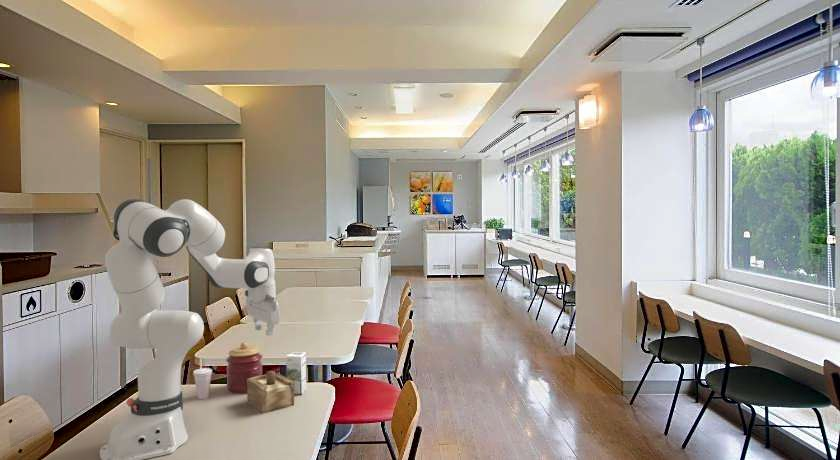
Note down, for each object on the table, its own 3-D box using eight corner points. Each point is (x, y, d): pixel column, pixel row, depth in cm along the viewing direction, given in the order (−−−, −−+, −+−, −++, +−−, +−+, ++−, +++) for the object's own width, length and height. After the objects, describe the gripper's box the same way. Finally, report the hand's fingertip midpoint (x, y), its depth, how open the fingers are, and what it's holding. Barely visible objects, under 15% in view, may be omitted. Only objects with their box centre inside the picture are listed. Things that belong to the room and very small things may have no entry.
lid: (266, 394, 173) (266, 379, 173) (252, 384, 183) (251, 370, 182) (290, 388, 178) (289, 373, 178) (274, 379, 188) (274, 365, 188)
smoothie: (196, 394, 191) (195, 357, 190) (214, 393, 192) (213, 355, 191) (191, 400, 184) (190, 362, 184) (210, 399, 185) (209, 361, 185)
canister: (219, 391, 193) (218, 345, 193) (243, 380, 205) (242, 336, 204) (246, 396, 188) (245, 348, 188) (270, 384, 200) (269, 339, 199)
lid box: (263, 413, 172) (263, 389, 172) (247, 401, 183) (246, 378, 183) (294, 405, 179) (293, 381, 179) (276, 394, 190) (276, 372, 190)
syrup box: (306, 389, 195) (306, 351, 194) (301, 395, 189) (301, 356, 188) (292, 389, 195) (291, 351, 195) (286, 394, 189) (285, 355, 189)
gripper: (284, 296, 173) (285, 337, 174) (259, 288, 189) (260, 325, 190) (266, 298, 169) (267, 340, 170) (242, 290, 185) (243, 328, 186)
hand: (263, 332), depth 180 cm, fingers open, 8 cm apart
